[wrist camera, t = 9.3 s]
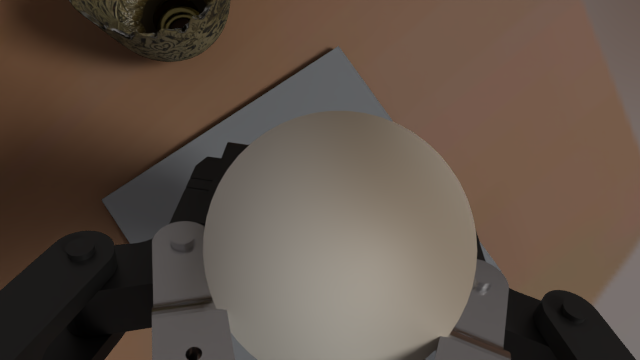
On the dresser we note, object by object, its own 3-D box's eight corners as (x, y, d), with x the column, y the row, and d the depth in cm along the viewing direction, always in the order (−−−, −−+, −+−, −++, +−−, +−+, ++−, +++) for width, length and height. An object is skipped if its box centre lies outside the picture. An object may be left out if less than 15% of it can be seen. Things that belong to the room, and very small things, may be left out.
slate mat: (266, 445, 26) (265, 450, 25) (105, 200, 27) (101, 199, 26) (496, 271, 27) (501, 271, 27) (337, 50, 29) (338, 46, 28)
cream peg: (298, 337, 18) (306, 449, 8) (227, 230, 18) (148, 207, 8) (401, 262, 18) (530, 278, 8) (330, 160, 19) (373, 62, 9)
